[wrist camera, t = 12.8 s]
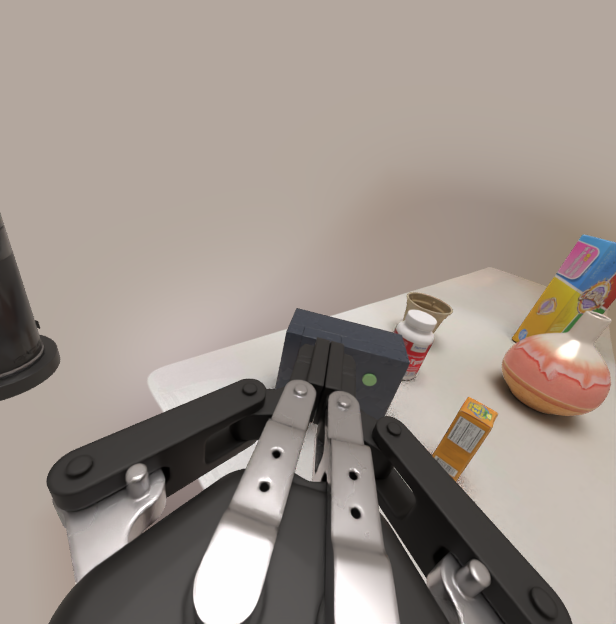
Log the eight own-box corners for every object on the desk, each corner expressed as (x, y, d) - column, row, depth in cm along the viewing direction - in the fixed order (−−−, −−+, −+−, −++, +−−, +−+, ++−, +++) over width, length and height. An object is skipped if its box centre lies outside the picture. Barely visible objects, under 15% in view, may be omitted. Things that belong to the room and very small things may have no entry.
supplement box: (432, 449, 35) (469, 393, 30) (459, 470, 33) (503, 414, 29) (422, 466, 33) (461, 408, 28) (450, 489, 31) (497, 431, 26)
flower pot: (444, 347, 59) (463, 313, 55) (413, 351, 55) (430, 314, 51) (414, 323, 67) (429, 292, 63) (384, 325, 62) (398, 292, 58)
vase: (496, 363, 58) (547, 288, 49) (576, 405, 50) (651, 324, 42) (482, 392, 48) (542, 304, 40) (579, 448, 41) (678, 355, 32)
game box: (531, 352, 66) (612, 241, 53) (509, 339, 70) (580, 233, 57) (576, 347, 74) (655, 250, 61) (554, 335, 78) (625, 243, 66)
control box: (271, 408, 36) (285, 332, 30) (282, 376, 41) (296, 307, 36) (375, 436, 35) (411, 364, 29) (373, 400, 41) (402, 334, 35)
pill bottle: (397, 384, 45) (423, 328, 40) (374, 360, 50) (395, 307, 45) (422, 377, 48) (450, 325, 43) (398, 356, 53) (421, 306, 47)
